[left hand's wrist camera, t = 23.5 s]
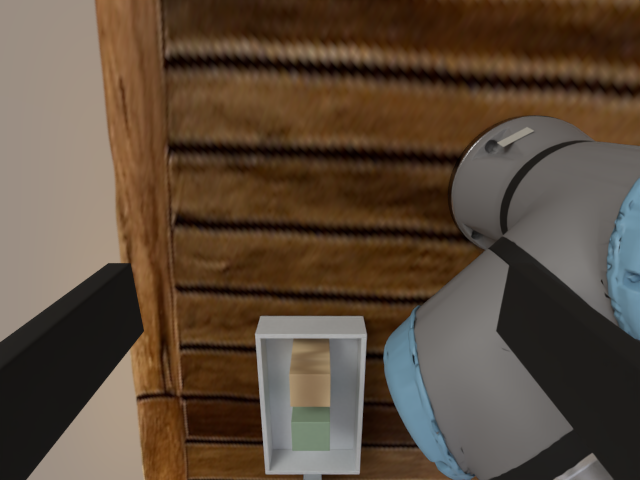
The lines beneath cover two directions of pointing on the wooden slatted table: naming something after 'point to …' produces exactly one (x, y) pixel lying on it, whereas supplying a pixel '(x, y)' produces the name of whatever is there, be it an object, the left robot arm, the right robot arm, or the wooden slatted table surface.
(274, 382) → the tray
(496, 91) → the wooden slatted table surface
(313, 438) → the sage block
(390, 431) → the wooden slatted table surface
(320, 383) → the birch block
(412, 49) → the wooden slatted table surface
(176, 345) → the wooden slatted table surface
